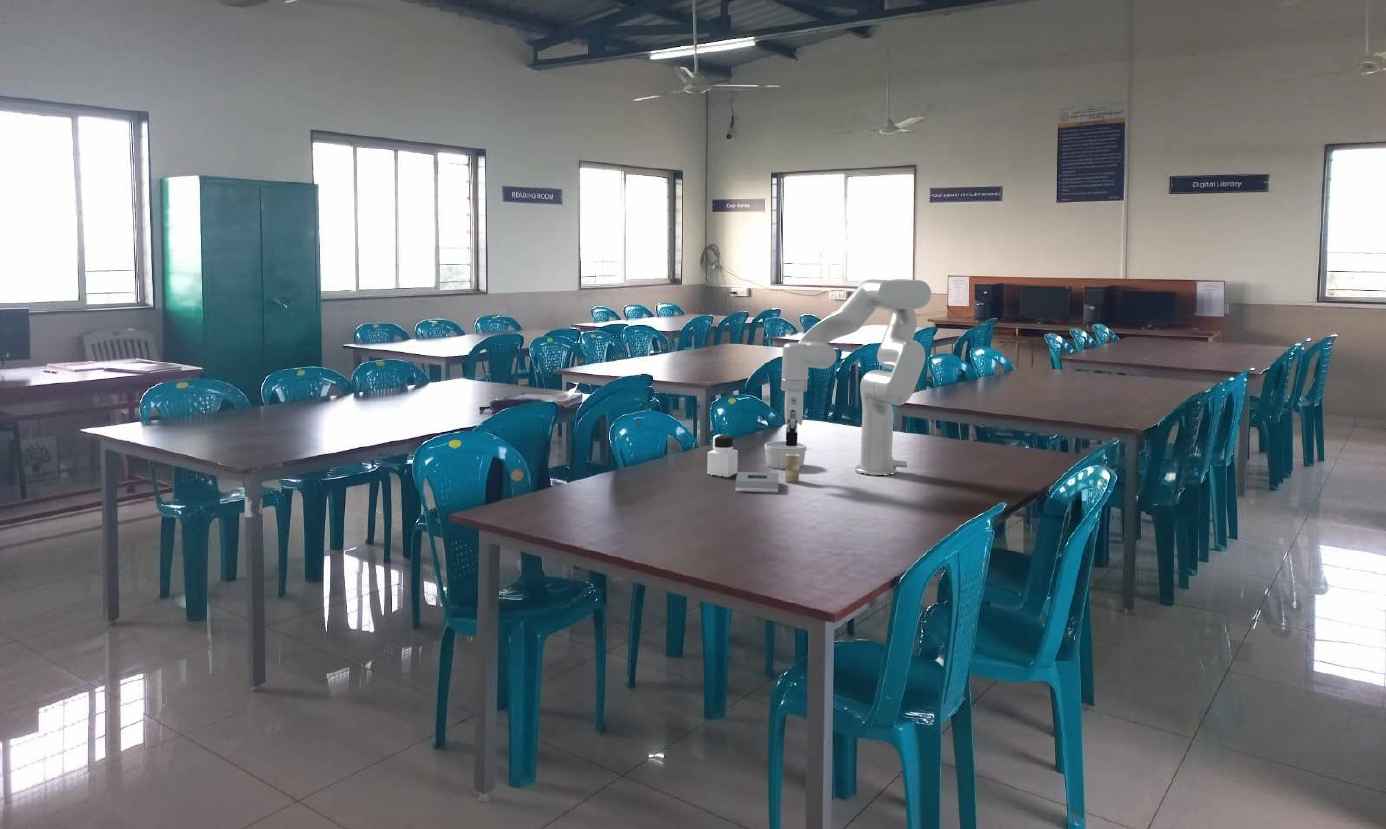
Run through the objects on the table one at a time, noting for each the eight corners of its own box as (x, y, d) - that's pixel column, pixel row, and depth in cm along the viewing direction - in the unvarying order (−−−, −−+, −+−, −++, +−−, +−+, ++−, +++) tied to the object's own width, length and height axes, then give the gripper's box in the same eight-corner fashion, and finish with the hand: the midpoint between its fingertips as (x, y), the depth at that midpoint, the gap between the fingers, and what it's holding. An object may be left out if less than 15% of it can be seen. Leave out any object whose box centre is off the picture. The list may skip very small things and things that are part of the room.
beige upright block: (798, 480, 306) (799, 454, 305) (798, 482, 303) (799, 456, 302) (785, 480, 307) (785, 453, 305) (785, 482, 304) (785, 455, 303)
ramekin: (805, 462, 333) (806, 441, 332) (806, 471, 320) (806, 449, 319) (764, 461, 334) (765, 440, 333) (763, 469, 321) (763, 447, 320)
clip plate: (778, 483, 302) (778, 473, 302) (778, 492, 291) (778, 482, 290) (737, 481, 303) (737, 471, 303) (735, 491, 292) (735, 480, 291)
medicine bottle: (737, 473, 315) (738, 434, 314) (728, 477, 309) (729, 438, 307) (716, 470, 318) (717, 432, 317) (706, 475, 312) (707, 436, 310)
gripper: (807, 389, 292) (804, 448, 294) (806, 382, 309) (803, 438, 311) (781, 388, 292) (778, 447, 295) (781, 381, 309) (778, 437, 312)
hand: (791, 443), depth 303 cm, fingers open, 9 cm apart
